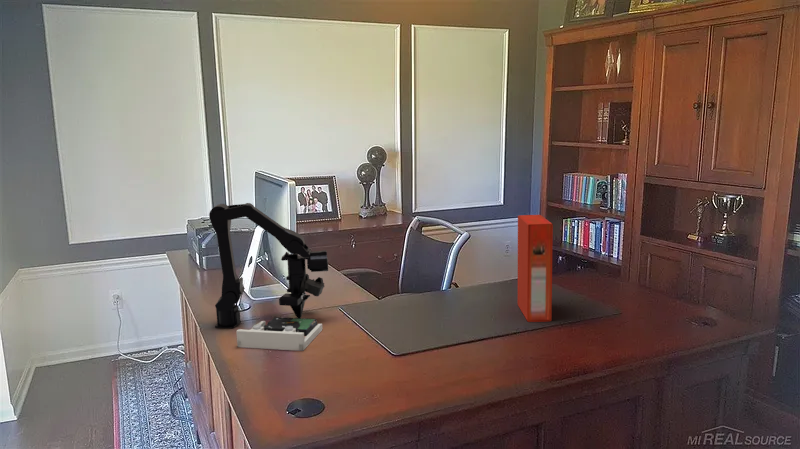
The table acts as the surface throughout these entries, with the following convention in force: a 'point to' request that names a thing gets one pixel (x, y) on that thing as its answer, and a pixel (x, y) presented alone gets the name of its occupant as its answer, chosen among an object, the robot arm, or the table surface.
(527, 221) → the file binder
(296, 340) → the dock
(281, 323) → the disk drive
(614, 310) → the table surface
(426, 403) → the table surface
